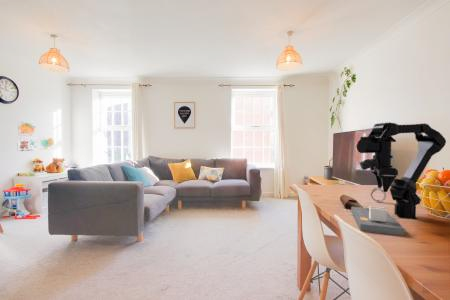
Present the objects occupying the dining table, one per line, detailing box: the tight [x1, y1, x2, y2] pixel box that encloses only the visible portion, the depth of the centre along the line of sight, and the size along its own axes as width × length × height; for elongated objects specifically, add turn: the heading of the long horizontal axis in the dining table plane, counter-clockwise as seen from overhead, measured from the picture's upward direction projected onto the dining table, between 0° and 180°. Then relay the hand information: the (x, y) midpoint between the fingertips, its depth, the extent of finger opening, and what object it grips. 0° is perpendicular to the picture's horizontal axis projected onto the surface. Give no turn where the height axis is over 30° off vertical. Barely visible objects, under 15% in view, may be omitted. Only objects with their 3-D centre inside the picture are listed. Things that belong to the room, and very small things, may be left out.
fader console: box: [350, 206, 405, 237], centre depth 95 cm, size 13×25×3 cm, turn 159°
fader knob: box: [368, 205, 388, 222], centre depth 89 cm, size 5×3×5 cm, turn 69°
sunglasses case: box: [339, 194, 362, 210], centre depth 121 cm, size 18×7×7 cm
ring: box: [370, 186, 387, 203], centre depth 127 cm, size 7×3×8 cm, turn 59°
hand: (382, 189), depth 100 cm, fingers open, 9 cm apart
